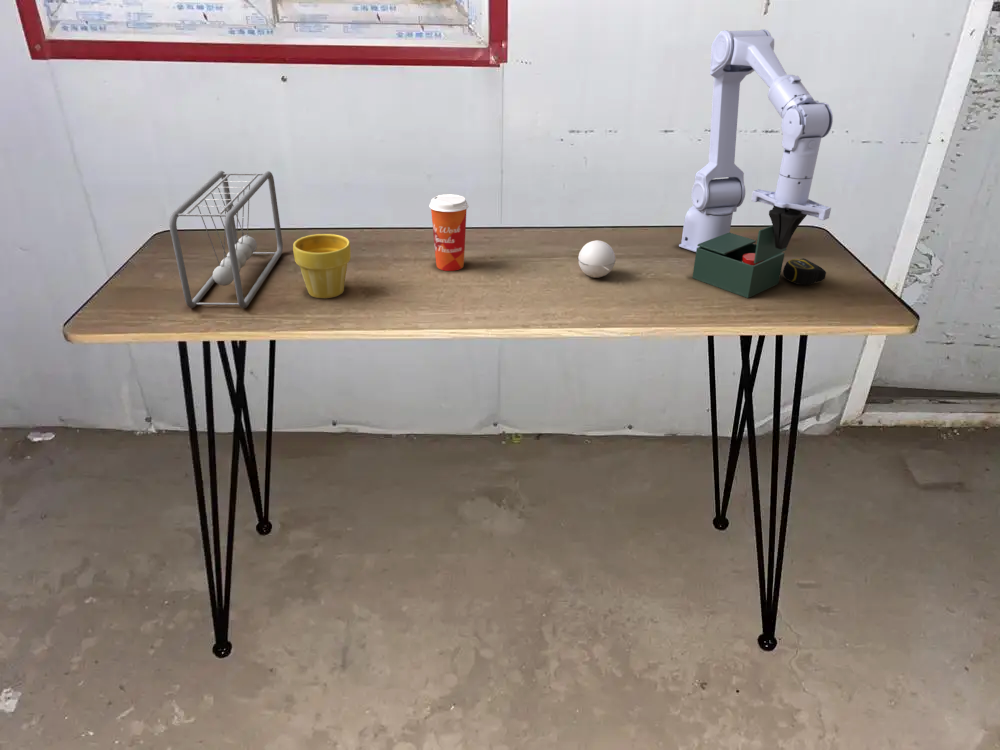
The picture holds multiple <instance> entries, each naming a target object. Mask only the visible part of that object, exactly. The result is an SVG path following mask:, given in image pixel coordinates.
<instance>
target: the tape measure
mask: <svg viewBox="0 0 1000 750" xmlns="http://www.w3.org/2000/svg"><path fill="white" fill-rule="evenodd" d="M782 274H783V277H784V279H786V280H787V281H789V282H791V283H794V284H795V285H806V286H807V285H813V284H816V283H821V282H823V281H824V280H826V279H825V278H826V276H827V272H826V270H825V269H824V268H823V267H821V266H819V265H818V264H816V263H815V262H812V261H810V260H808V259H806V258H800V259H799V258H792V259H789V260H787V261H786V262H785V265H784V267H783V269H782Z"/></svg>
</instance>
